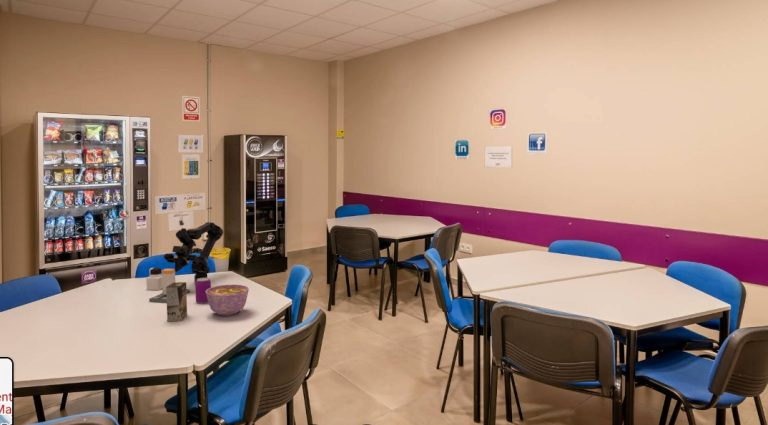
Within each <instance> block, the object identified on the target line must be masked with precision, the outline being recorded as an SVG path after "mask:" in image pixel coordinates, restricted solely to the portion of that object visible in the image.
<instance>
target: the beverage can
mask: <svg viewBox="0 0 768 425" xmlns="http://www.w3.org/2000/svg"><path fill="white" fill-rule="evenodd" d="M194 283H195V282H194ZM211 287H212V282H211V280H210V278H209V277H207V278H199V279H197V281H196V283H195V286H194V288H195V302H196V304H197V303H198V304H209V302H208V299H207V295H206V292H205V291H206V290H207V289H209V288H211Z"/></svg>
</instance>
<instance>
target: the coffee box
mask: <svg viewBox="0 0 768 425" xmlns="http://www.w3.org/2000/svg"><path fill="white" fill-rule="evenodd" d="M186 289H187V282H184V281H183V282H182V281H181V282H179V281H178V282H175V283H172V284H170V285H169V286H167V287H166V296H167V303H166V317H167V318H166V321H167V322H181V321H183V319H184V318H185V317H187V316H188V302H187V301H188V297H187V296H188V293H187V291H186Z"/></svg>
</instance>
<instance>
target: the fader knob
mask: <svg viewBox="0 0 768 425" xmlns="http://www.w3.org/2000/svg"><path fill="white" fill-rule="evenodd" d="M161 275H162V289H161V290H162V293H163V294H166V287H167V286H169V285H170V284H172V283H176V272H175V268H164V269H161Z"/></svg>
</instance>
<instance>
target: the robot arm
mask: <svg viewBox="0 0 768 425" xmlns="http://www.w3.org/2000/svg"><path fill="white" fill-rule="evenodd" d="M204 234H207V240H206V241H205V244H204V245H203V247H202V250H201V252H200V253H199V256H197V255H196V254H192V250H193V248H194V247H196V246H197V244H196V241H195V240H200V239H201V238H202V235H204ZM223 234H224V230H223V229H222V227H221V226H220V225H217V224H215V222H213V221H212V222H210V221H209V222H208V221H207V222H205V223H204V224H202V225H200V226H198V227H196V228H189V229H187V228H183V227H182V228H181V229H179V230H178V231H177V232H176V233H175V237H176V239H177V240H178V241H179V242H180V243H181V246H180V245H173V247H172V252H173V253H174V254H175V255H174V254H173V253H165V254H164V255H163V258H164V260H165V261H166V262H167V263H169V264H173V263H174V269H175V273H178V272H179V271H180V270H181V269H183V268H185V267H186V266H188V265H189V262H192V263H191V264H190V267H191V271H192V274H194V276H193V277H194V281H193V282H194V283H196V281H197V279H199V278H208V274H209V273H210V271H211V268H210V267H209V263H208V260H209V257H210V255H211V252H212V250H213V248H214V247H215V244H216V242H218V240H221V237H223Z"/></svg>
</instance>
